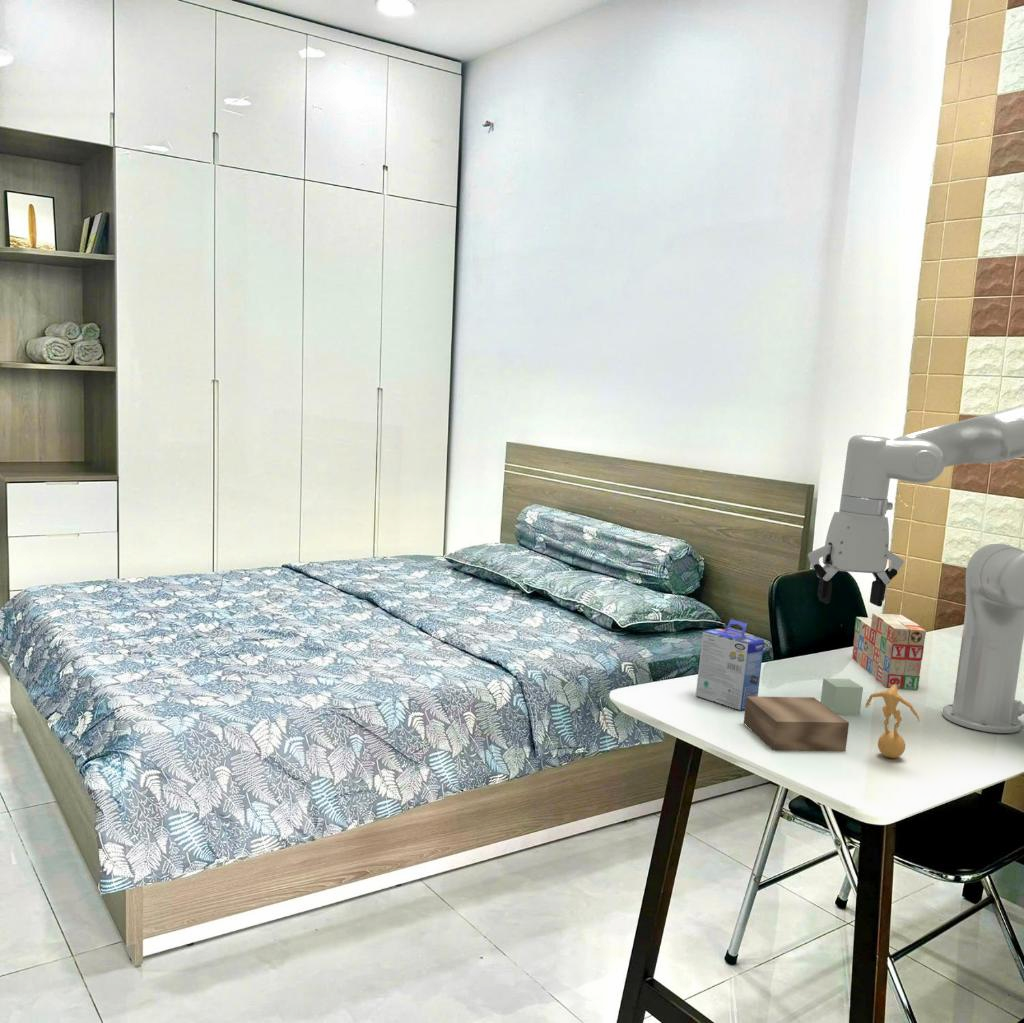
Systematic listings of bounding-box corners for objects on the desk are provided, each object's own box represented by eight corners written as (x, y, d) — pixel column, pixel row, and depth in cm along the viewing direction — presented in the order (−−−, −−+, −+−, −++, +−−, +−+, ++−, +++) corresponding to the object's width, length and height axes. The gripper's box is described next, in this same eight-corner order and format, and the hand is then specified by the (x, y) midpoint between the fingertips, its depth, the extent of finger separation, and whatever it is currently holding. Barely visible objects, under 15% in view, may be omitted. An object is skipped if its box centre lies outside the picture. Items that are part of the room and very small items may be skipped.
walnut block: (810, 726, 164) (813, 697, 164) (845, 753, 152) (848, 722, 152) (743, 725, 162) (746, 696, 162) (773, 752, 150) (776, 721, 150)
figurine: (921, 762, 150) (931, 687, 148) (907, 772, 145) (917, 694, 144) (868, 746, 155) (877, 673, 154) (853, 755, 151) (862, 680, 149)
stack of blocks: (850, 658, 210) (857, 602, 208) (879, 660, 210) (886, 604, 208) (886, 689, 188) (894, 627, 187) (918, 691, 188) (926, 629, 187)
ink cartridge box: (759, 706, 172) (767, 626, 170) (741, 712, 168) (750, 630, 166) (712, 691, 179) (719, 614, 177) (694, 696, 175) (702, 618, 173)
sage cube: (846, 705, 176) (849, 678, 175) (859, 715, 171) (863, 687, 170) (820, 705, 175) (823, 678, 175) (833, 714, 170) (836, 686, 170)
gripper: (897, 507, 173) (884, 601, 176) (806, 500, 171) (794, 595, 173) (920, 513, 166) (906, 611, 168) (825, 506, 164) (812, 605, 166)
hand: (849, 603), depth 171 cm, fingers open, 9 cm apart
